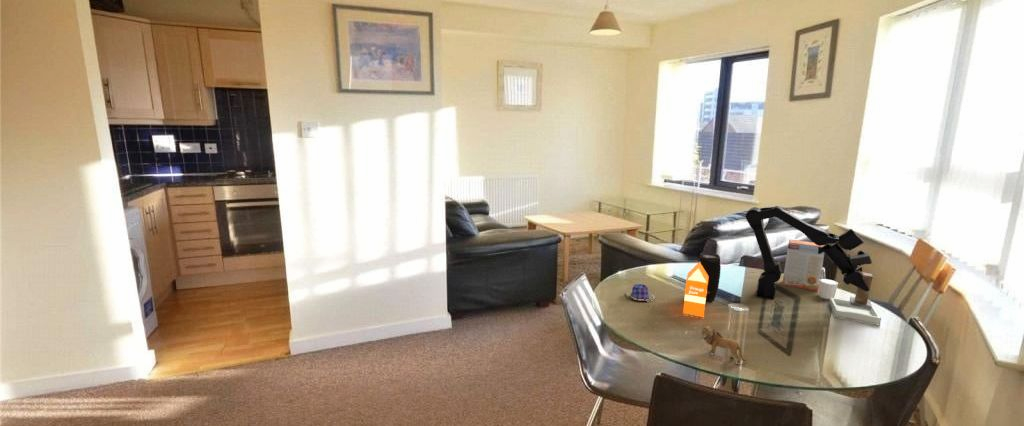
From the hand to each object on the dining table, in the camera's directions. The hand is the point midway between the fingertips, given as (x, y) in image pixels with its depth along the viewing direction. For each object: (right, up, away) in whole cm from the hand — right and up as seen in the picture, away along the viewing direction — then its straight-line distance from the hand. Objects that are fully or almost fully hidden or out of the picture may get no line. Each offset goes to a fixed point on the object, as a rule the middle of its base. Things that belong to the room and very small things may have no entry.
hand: (867, 289), depth 177 cm
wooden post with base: (-1, -6, +2) cm, 7 cm away
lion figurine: (-70, -18, -27) cm, 77 cm away
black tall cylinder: (-56, -7, +17) cm, 59 cm away
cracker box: (-6, -4, +32) cm, 33 cm away
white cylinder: (-2, -7, +21) cm, 23 cm away
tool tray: (-2, -11, +4) cm, 12 cm away
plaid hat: (-83, -7, +18) cm, 86 cm away
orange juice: (-66, -10, +4) cm, 67 cm away
